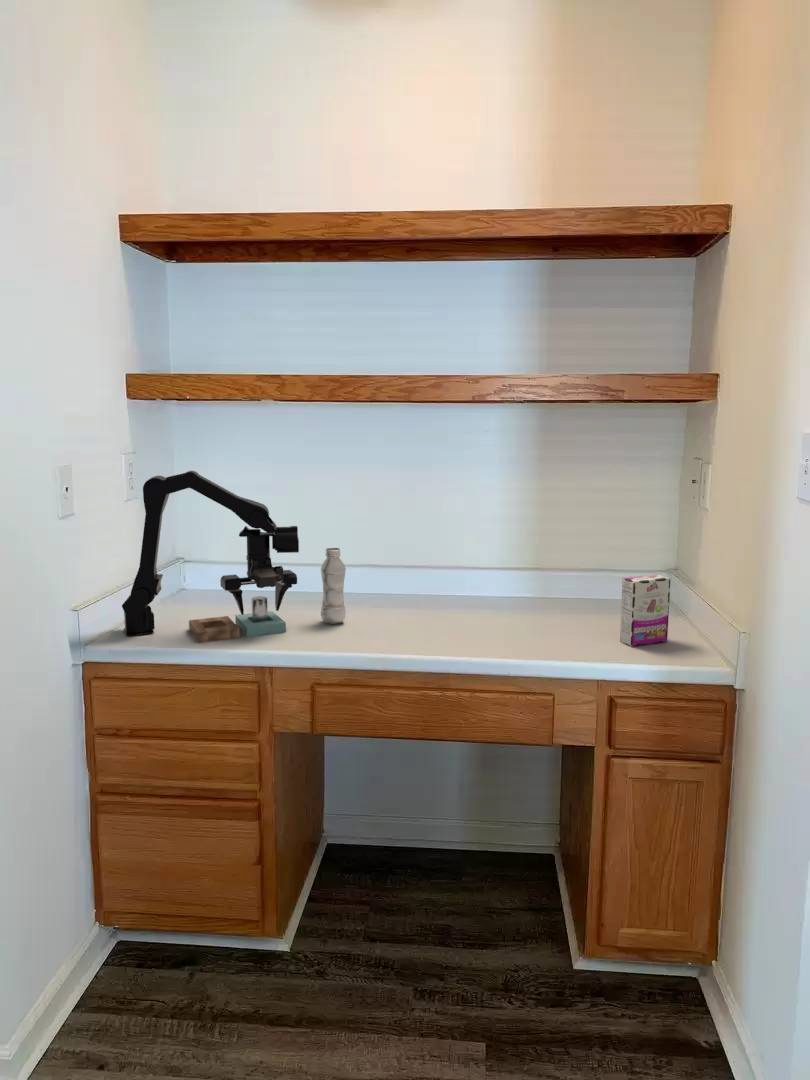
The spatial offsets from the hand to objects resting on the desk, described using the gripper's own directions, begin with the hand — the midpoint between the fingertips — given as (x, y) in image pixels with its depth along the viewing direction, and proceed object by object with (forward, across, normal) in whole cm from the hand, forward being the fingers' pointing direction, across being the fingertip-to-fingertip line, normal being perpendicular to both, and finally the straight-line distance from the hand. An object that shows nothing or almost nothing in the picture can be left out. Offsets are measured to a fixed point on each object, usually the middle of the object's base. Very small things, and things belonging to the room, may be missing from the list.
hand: (259, 612), depth 203 cm
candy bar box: (+4, +83, -50) cm, 97 cm away
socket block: (+4, -12, 0) cm, 13 cm away
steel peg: (+4, 0, 0) cm, 4 cm away
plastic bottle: (+4, +19, -3) cm, 20 cm away
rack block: (+4, 0, 0) cm, 4 cm away
